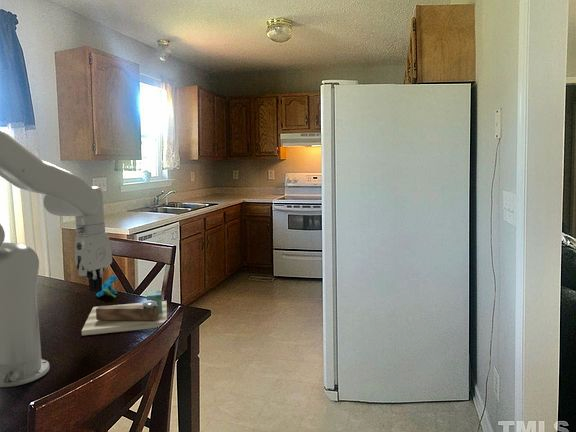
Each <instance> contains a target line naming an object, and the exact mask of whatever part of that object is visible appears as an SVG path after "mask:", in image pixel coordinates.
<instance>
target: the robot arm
mask: <svg viewBox="0 0 576 432" xmlns="http://www.w3.org/2000/svg"><path fill="white" fill-rule="evenodd" d="M0 177H1V178H3V179H4V180H5V181H7V182H8V183H9V184H12V185H13V186H14V187H16V188H18V189H21V190H25V191H27V192H31V193H35V194H42V195H44V198H43V207H44V208H45V210H46V211H47V212H48V213H49V214H51V215H54V216H58V217H59V216H61V217H75V230H74V232H75V234H76V236H75V240H74V241H75V242H74V262H75V268H76V270H77V271H78V272H77V273H78V276H79V277H80V276H81V277H86V279H87V280H88V288H89V293H90V292H91V293H98V292H99V291H102V284H103V283H102V278H103V275H104V272H105V270H107V269H108V268H109V267H110V265H111V264H112V263H113V252H112V245H111V240H110V238H109V234H108V231H106V224H105V223H106V221H105V210H104V209H105V208H104V199H103V198H104V197H103V196H104V195H103V194H104V193H103V189H102V188H101V187H100V186H95V185H90V184H89V183H88V182H87V181H85V179H83V178H81V177H80V176H78V175H77V174H74V173H72V172H71V171H69V170H67V169H64V168H61V167H60V166H57V165H55V164H53V163H50V162H48V161H45V160H42V159H41V158H39V157H38V156H37V155H36V154H35V153H33V152H32V151H30V149H28V148H27V147H26V146H25V145H23V144H22V143H21V142H19V141H18V140H17V139H16V138H14V137H13V136H12V135H10V133H8V132H7V131H6V130H4V129H3V128H1V127H0ZM5 237H6V234H5V230H4V227H3V226H2V224H1V223H0V388H11V387H17V386H22V385H25V384H28V383H31V382H34V381H36V380H39V379H40V378H42V377H43V376H45V375H46V374H47V373H48V372H49V370H50V362H49V361H48V360H46V359H43V358H42V349H41V337H40V336H41V335H40V321H39V309H38V298H37V297H38V295H37V288H38V287H37V286H38V285H37V284H38V276H39V268H40V259H39V256H38V254H37V252H36V251H35V250H34V249H33V248H32V247H30V246H28V245H27V244H26V245H25V244H23V243H17V242H5Z"/></svg>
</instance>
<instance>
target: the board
mask: <svg viewBox="0 0 576 432" xmlns="http://www.w3.org/2000/svg"><path fill="white" fill-rule="evenodd" d="M143 303H144V302H138V303H137V302H136V303H135V302H134V303H125V304H113V305H111V306H133V305H143ZM156 305H157V304H156ZM167 306H168V305H167V300H162V313H159V316H158V317H157V318H156V319H155V320H96V309H97V308H98V307H99V306H93V307H92V309H91V311H90V313H89V314H88V317H87V319H86V321H85V323H84V324H83V327H82V329H81V336H89V335H90V336H91V335H100V334H109V333H119V332H121V333H122V332H129V331H140V330H148V329H150V330H151V329H157V327H159V326H160V325H161V324H162V323H164V322H165V321H166V320H167V321H168V307H167Z"/></svg>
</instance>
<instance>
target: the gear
mask: <svg viewBox="0 0 576 432" xmlns="http://www.w3.org/2000/svg"><path fill="white" fill-rule="evenodd" d="M117 277H118V276H117V275H115V274H113V275H110V276H109V277H108V278H107V279H105V280H104V282H103V283H104V284H103V283H102V291H99V292H96V294H95V296H96V297H98V298H100V297H102V296H103V297H104V295H105V293H106V294H107V295H108V296H112V297H113V298H114V299H115V298H116V297H117V294H118V291H117V290H116V289H114V288H113V286H114V285H113V283H115V282H116V281H117Z"/></svg>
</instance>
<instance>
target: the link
mask: <svg viewBox="0 0 576 432" xmlns="http://www.w3.org/2000/svg"><path fill="white" fill-rule="evenodd" d="M97 307H98V308H97V309H96V320H155V319H156V318H157V317H158V316H159V307H158V305H156V306H154V307H153V308H146V307H143V305H133V306H112V305H99V306H97Z"/></svg>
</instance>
